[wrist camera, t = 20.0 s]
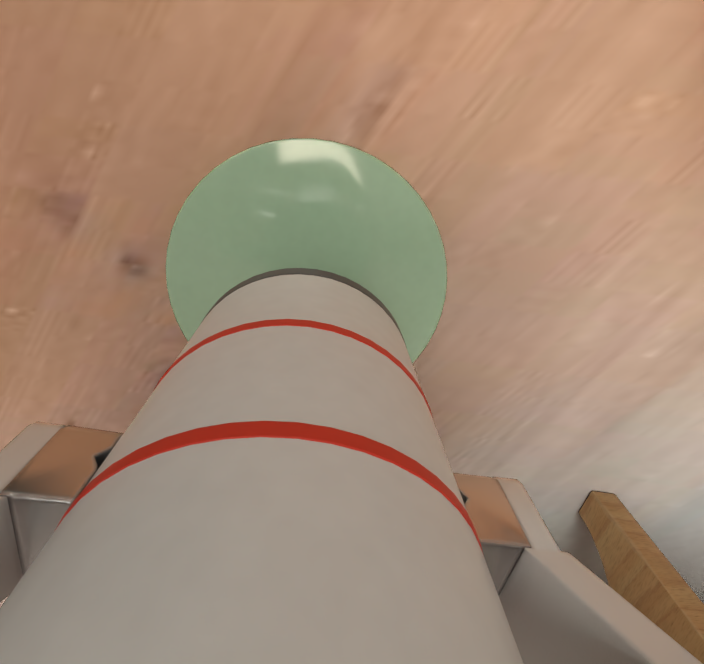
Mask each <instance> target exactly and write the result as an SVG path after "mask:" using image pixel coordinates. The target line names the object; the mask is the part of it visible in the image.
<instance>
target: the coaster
mask: <svg viewBox="0 0 704 664" xmlns="http://www.w3.org/2000/svg"><path fill="white" fill-rule="evenodd" d="M285 268H309V269H318V270H323V271H327V272H332V273H335V274H337V275H340V276H343V277H346V278H348V279H350V280H352V281H354V282H356V283H358V284H359V285H361V286H362V287H364V288H365V289H367V290H368V291H370V292H371V293H372V294H373V295H375V296H376V297H377V298H378V299H379V300H380V301H381V302H382V303H383V304H384V305H385V307H386V308H387V309H388V310H389V311H390V313H391V314H392V316H393V317H394V319H395V321H396V322H397V324H398V326H399V329H400V331H401V333H402V335H403V338H404V341H405V344H406V348H407V351H408V354H409V356H410V359H411V362H412V363H413V362H414V361H415V360H416V359H417V358H418V357H419V355H420V354H421V352H422V351H423V350H424V348H425V347H426V346H427V344H428V342H429V341H430V339H431V337H432V335H433V333H434V331H435V329H436V327H437V324H438V322H439V319H440V316H441V314H442V310H443V306H444V301H445V297H446V287H447V263H446V257H445V251H444V245H443V242H442V239H441V236H440V233H439V230H438V227H437V225H436V223H435V221H434V219H433V217H432V214H431V212H430V211H429V209H428V208H427V206H426V204H425V203H424V201H423V200H422V198H421V197H420V195H419V194H418V193H417V192H416V191H415V190H414V189H413V187H412V186H411V185H410V184H409V183H408V182H407V181H406V180H405V179H404V178H403V177H402V176H401V175H399V174H398V173H397V172H396V171H395V170H394V169H392V168H391V167H390V166H388V165H387V164H385V163H384V162H382V161H380V160H379V159H377V158H376V157H374V156H372V155H370V154H368V153H366V152H363V151H361V150H359V149H357V148H355V147H351V146H348V145H345V144H341V143H338V142H334V141H328V140H321V139H314V138H291V139H284V140H277V141H270V142H267V143H264V144H260V145H257V146H254V147H251V148H248V149H246V150H244V151H242V152H240V153H238V154H236V155H234V156H232V157H230V158H229V159H227V160H226V161H224V162H223V163H221V164H220V165H218V166H217V167H215V168H214V169H213V170H212V171H211V172H210V173H209V174H207V175H206V176H205V177H204V178H203V179H202V180H201V181H200V182H199V183H198V185H197V186H196V187H195V188H194V190H193V191H192V192H191V193H190V194H189V196H188V197H187V199H186V201H185V202H184V204H183V206H182V208H181V209H180V211H179V213H178V215H177V218H176V220H175V223H174V225H173V228H172V230H171V234H170V239H169V243H168V247H167V257H166V281H167V289H168V294H169V299H170V303H171V306H172V309H173V312H174V315H175V318H176V320H177V322H178V324H179V326H180V328H181V330H182V332H183V334H184V336H185V337H186V339H187V340H188V341H189V340H190V339H191V337H192V336H193V334H194V333H195V331H196V330H197V329H198V327H199V326H200V324H201V322H202V321H203V319H204V317H205V316H206V314H207V313H208V312H209V310H210V309H211V308H212V307H213V305H214V304H215V303H216V302H217V301H218V300H219V299H220V298H221V297H222V296H223V295H224V294H225V293H226V292H228V291H229V290H230V289H232V288H233V287H235V286H236V285H238V284H239V283H241V282H243V281H245V280H247V279H249V278H251V277H253V276H256V275H259V274H262V273H265V272H268V271H273V270H279V269H285Z"/></svg>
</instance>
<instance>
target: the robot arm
mask: <svg viewBox="0 0 704 664" xmlns="http://www.w3.org/2000/svg"><path fill="white" fill-rule="evenodd" d="M122 435H123V433H118V432H111V431H104V430H98V429H91V428H84V427H77V426H70V425H68V426H65V425H58V424H52V423H45V422H36V423H33V424H30V425H28V426H27V427H26V428H25V429H24V430H23V431H21V432H20V433H19V434H18V435H17V436H16V437H15V438H14V439H13V440H12V441H11V442H10V443H9V444H7V445H6V446H5V447H4V448H3V449H2V450H1V451H0V602H1V601H2V600H3V599H5V598H6V597H7V596H9V595H10V594H11V592H12V591H13V589H14V588H15V586H16V585H17V584H18V582H19V581H20V579H21V578H22V577H23V575H24V574H25V572H26V571H27V569H28V568H29V567H30V565H31V564H32V562H33V561H34V560H35V558H36V557H37V555H38V554H39V552H40V551H41V550H42V548H43V547H44V545H45V544H46V543H47V541H48V540H49V538H50V537H51V535H52V534H53V533H54V531H55V529H56V527H57V526H58V524H59V522H60V521H61V519H62V517H63V516H64V514H65V513H66V511H67V510H68V508H69V507H70V506H71V504H72V503H73V501H74V500H75V499H76V498H77V496H78V495H79V494H80V493H81V492H82V491H83V490H84V488H85V487H86V486H87V484H88V483H89V482H90V480H91V479H92V477H93V476H94V475H95V473H96V472H97V470H98V469H99V467H100V466H101V465H102V463H103V462H104V460H105V459H106V458H107V456H108V455H109V453H110V452H111V450H112V449H113V448H114V446H115V445H116V443H117V442H118V441H119V439H120V438H121V436H122ZM453 475H454V477H455V480H456V483H457V486H458V488H459V491H460V494H461V496H462V499H463V502H464V504H465V507H466V510H467V512H468V515H469V517H470V519H471V521H472V523H473V526H474V528H475V530H476V532H477V535H478V538H479V540H480V543H481V547H482V551H483V555H484V558H485V561H486V564H487V566H488V569H489V572H490V574H491V577H492V580H493V582H494V585H495V588H496V591H497V593H498V596H499V599H500V601H501V604H502V607H503V609H504V612H505V615H506V617H507V620H508V623H509V626H510V628H511V631H512V634H513V636H514V639H515V642H516V644H517V647H518V650H519V652H520V655H521V658H522V660H523V663H524V664H703V663H701V662H700V661H699V660H698V659H696V658H695V657H694V656H693V655H692V654H690V653H689V652H688V651H687V650H686V649H684V648H683V647H682V646H681V645H680V644H678V643H677V642H676V641H675V640H674V639H672V638H671V637H670V636H669V635H668V634H666V633H665V632H664V631H663V630H662V629H660V628H659V627H658V626H657V625H656V624H654V623H653V622H652V621H651V620H649V619H648V618H647V617H646V616H645V615H643V614H642V613H641V612H640V611H639V610H637V609H636V608H635V607H634V606H633V605H631V604H630V603H629V602H628V601H627V600H625V599H624V598H623V597H622V596H621V595H619V594H618V593H617V592H616V591H615V590H613V589H612V588H611V587H610V586H609V585H607V584H606V583H605V582H604V581H602V580H601V579H600V578H599V577H598V576H596V575H595V574H594V573H593V572H592V571H590V570H589V569H588V568H587V567H586V566H584V565H583V564H582V563H581V562H580V561H578V560H577V559H576V558H575V557H574V556H572V555H571V554H570V553H569V552H563V551H560V549H559V548H558V546H557V544H556V542H555V541H554V539H553V537H552V535H551V534H550V532H549V530H548V528H547V526H546V525H545V523H544V521H543V519H542V518H541V516H540V514H539V512H538V511H537V509H536V507H535V505H534V504H533V502H532V500H531V498H530V497H529V495H528V493H527V491H526V490H525V488H524V486H523V484H522V483H521V482H519V481H518V480H517V479H508V478H499V477H492V478H491V477H486V476H477V475H468V474H459V473H453Z"/></svg>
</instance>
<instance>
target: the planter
mask: <svg viewBox="0 0 704 664" xmlns="http://www.w3.org/2000/svg"><path fill="white" fill-rule="evenodd" d="M579 514H580V516H581V517H582V519H583V520H584V522H585V524H586V525H587V527H588V529H589V531H590V533H591V535H592V538H593V540H594V542H595V545H596V547H597V550H598V553H599V555H600V558H601V561H602V563H603V567H604V570H605V574H606V577H607V581H608V585H609V586H610V587H611V588H612V589H613V590H615V591H616V592H617V593H618V594H619V595H621V596H622V597H623V598H624V599H625V600H627V601H628V602H629V603H630V604H631V605H633V606H634V607H635V608H636V609H637V610H639V611H640V612H641V613H642V614H643V615H645V616H646V617H647V618H648V619H649V620H651V621H652V622H653V623H654V624H656V625H657V626H658V627H659V628H660V629H662V630H663V631H664V632H665V633H666V634H668V635H669V636H670V637H671V638H672V639H674V640H675V641H676V642H677V643H678V644H680V645H681V646H682V647H683V648H684V649H686V650H687V651H688V652H689V653H690V654H692V655H693V656H694V657H695V658H696V659H698V660H699V661H700V662H701V663H703V664H704V604H703V603H702V602H701V601H700V599H699V598H698V597H697V596H696V594H695V593H694V592H693V591H692V589H691V588H690V587H689V586H688V584H687V583H686V582H685V581H684V579H683V578H682V577H681V576H680V575H679V573H678V572H677V571H676V570H675V568H674V567H673V566H672V565H671V563H670V562H669V561H668V560H667V558H666V557H665V556H664V555H663V553H662V552H661V551H660V550H659V549H658V547H657V546H656V545H655V544H654V542H653V541H652V540H651V539H650V537H649V536H648V535H647V534H646V532H645V531H644V530H643V529H642V527H641V526H640V525H639V524H638V523H637V521H636V520H635V519H634V518H633V516H632V515H631V514H630V513H629V511H628V510H627V509H626V508H625V506H624V505H623V504H622V503H621V501H620V500H619V499H618V498H617V497H616V495H615V494H610V493H603V492H595V491H592V492H591V493H590V495H589V496H588V498H587V500H586V501H585V503H584V504H583V506H582V508H581V509H580V511H579Z"/></svg>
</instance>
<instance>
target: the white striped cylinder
mask: <svg viewBox="0 0 704 664" xmlns="http://www.w3.org/2000/svg"><path fill="white" fill-rule="evenodd" d="M0 664H524V663H523V660H522V658H521V655H520V652H519V650H518V647H517V644H516V642H515V639H514V636H513V634H512V631H511V628H510V626H509V623H508V620H507V617H506V615H505V612H504V609H503V607H502V604H501V601H500V599H499V596H498V593H497V591H496V588H495V585H494V582H493V580H492V577H491V574H490V572H489V569H488V566H487V564H486V561H485V558H484V555H483V551H482V547H481V543H480V540H479V538H478V535H477V532H476V530H475V528H474V526H473V523H472V521H471V519H470V517H469V515H468V512H467V510H466V507H465V504H464V502H463V499H462V496H461V494H460V491H459V488H458V486H457V483H456V480H455V477H454V475H453V472H452V469H451V467H450V464H449V461H448V459H447V456H446V453H445V451H444V448H443V445H442V442H441V440H440V437H439V434H438V432H437V429H436V426H435V424H434V421H433V417H432V414H431V410H430V407H429V405H428V402H427V400H426V398H425V396H424V393H423V391H422V389H421V386H420V383H419V381H418V378H417V375H416V373H415V370H414V367H413V364H412V362H411V359H410V356H409V354H408V351H407V348H406V344H405V341H404V338H403V335H402V333H401V331H400V329H399V326H398V324H397V322H396V321H395V319H394V317H393V316H392V314H391V313H390V311H389V310H388V309H387V308H386V307H385V305H384V304H383V303H382V302H381V301H380V300H379V299H378V298H377V297H376V296H375V295H373V294H372V293H371V292H370V291H368V290H367V289H365V288H364V287H362V286H361V285H359V284H358V283H356V282H354V281H352V280H350V279H348V278H346V277H343V276H340V275H337V274H335V273H332V272H327V271H323V270H318V269H309V268H285V269H279V270H273V271H268V272H265V273H262V274H259V275H256V276H253V277H251V278H249V279H247V280H245V281H243V282H241V283H239V284H238V285H236V286H235V287H233V288H232V289H230V290H229V291H228V292H226V293H225V294H224V295H223V296H222V297H221V298H220V299H219V300H218V301H217V302H216V303H215V304H214V305H213V307H212V308H211V309H210V310H209V312H208V313H207V314H206V316H205V317H204V319H203V321H202V322H201V324H200V326H199V327H198V329H197V330H196V331H195V333H194V334H193V336H192V337H191V339H190V340H189V341H188V343H187V344H186V346H185V347H184V348H183V350H182V351H181V353H180V354H179V356H178V357H177V358H176V360H175V361H174V363H173V364H172V365H171V367H170V368H169V369H168V370H167V371H166V372H165V374H164V375H163V376H162V378H161V379H160V381H159V382H158V384H157V385H156V387H155V389H154V390H153V392H152V394H151V395H150V397H149V398H148V399H147V401H146V402H145V404H144V405H143V407H142V408H141V409H140V411H139V412H138V414H137V415H136V416H135V418H134V419H133V421H132V422H131V424H130V425H129V426H128V428H127V429H126V431H125V432H124V433H123V435H122V436H121V438H120V439H119V441H118V442H117V443H116V445H115V446H114V448H113V449H112V450H111V452H110V453H109V455H108V456H107V458H106V459H105V460H104V462H103V463H102V465H101V466H100V467H99V469H98V470H97V472H96V473H95V475H94V476H93V477H92V479H91V480H90V482H89V483H88V484H87V486H86V487H85V488H84V490H83V491H82V492H81V493H80V494H79V495H78V496H77V498H76V499H75V500H74V501H73V503H72V504H71V506H70V507H69V508H68V510H67V511H66V513H65V514H64V516H63V517H62V519H61V521H60V522H59V524H58V526H57V527H56V529H55V531H54V533H53V534H52V535H51V537H50V538H49V540H48V541H47V543H46V544H45V545H44V547H43V548H42V550H41V551H40V552H39V554H38V555H37V557H36V558H35V560H34V561H33V562H32V564H31V565H30V567H29V568H28V569H27V571H26V572H25V574H24V575H23V577H22V578H21V579H20V581H19V582H18V584H17V585H16V586H15V588H14V589H13V591H12V592H11V594H10V595H9V596H8V598H7V599H6V601H5V602H4V603H3V605H2V606H1V608H0Z"/></svg>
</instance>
